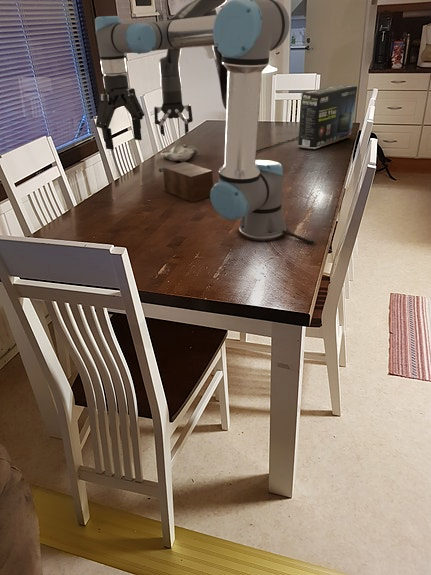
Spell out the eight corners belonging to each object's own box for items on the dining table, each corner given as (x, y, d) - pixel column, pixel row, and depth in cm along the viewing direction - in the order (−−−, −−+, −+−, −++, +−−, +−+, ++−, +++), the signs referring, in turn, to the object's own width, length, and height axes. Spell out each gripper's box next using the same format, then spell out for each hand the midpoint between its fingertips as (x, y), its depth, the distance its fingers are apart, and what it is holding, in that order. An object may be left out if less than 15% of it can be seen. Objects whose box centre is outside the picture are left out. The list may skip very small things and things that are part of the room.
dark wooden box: (166, 191, 187) (164, 167, 182) (186, 185, 193) (185, 161, 188) (192, 202, 176) (190, 176, 170) (213, 195, 181) (212, 170, 176)
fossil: (184, 156, 217) (163, 136, 220) (174, 174, 223) (154, 154, 227) (205, 153, 231) (186, 134, 234) (195, 171, 237) (176, 152, 240)
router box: (314, 151, 231) (318, 94, 217) (296, 148, 237) (299, 92, 224) (352, 138, 251) (358, 85, 238) (335, 135, 258) (340, 83, 245)
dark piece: (156, 184, 192) (154, 165, 188) (174, 179, 197) (173, 161, 193) (188, 197, 177) (187, 177, 173) (207, 191, 182) (206, 172, 178)
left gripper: (189, 86, 171) (192, 131, 179) (151, 88, 170) (156, 133, 178) (191, 89, 164) (194, 135, 173) (151, 91, 163) (156, 138, 172)
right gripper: (132, 69, 152) (140, 135, 163) (75, 78, 134) (88, 152, 145) (150, 69, 148) (157, 137, 159) (93, 79, 130) (105, 154, 141)
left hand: (174, 134), depth 175 cm, fingers open, 8 cm apart
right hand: (124, 144), depth 152 cm, fingers open, 13 cm apart
